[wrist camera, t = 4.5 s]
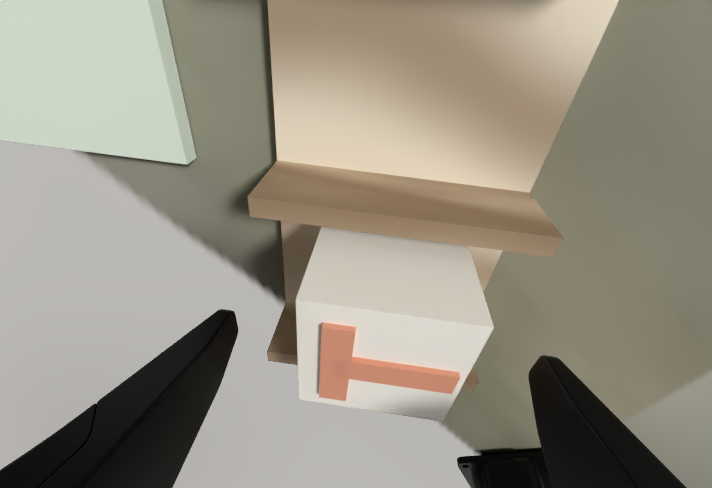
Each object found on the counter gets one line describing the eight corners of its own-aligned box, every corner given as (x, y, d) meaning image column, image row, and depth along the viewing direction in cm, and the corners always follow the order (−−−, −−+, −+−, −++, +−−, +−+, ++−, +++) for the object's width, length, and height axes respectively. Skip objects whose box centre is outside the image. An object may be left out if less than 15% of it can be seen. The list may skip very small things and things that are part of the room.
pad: (196, 157, 11) (187, 164, 10) (1, 132, 11) (-17, 138, 11) (127, -160, 7) (106, -173, 6) (-182, -190, 7) (-225, -205, 6)
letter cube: (430, 310, 13) (443, 427, 10) (325, 296, 13) (297, 404, 10) (460, 221, 11) (495, 333, 7) (329, 203, 11) (293, 304, 7)
